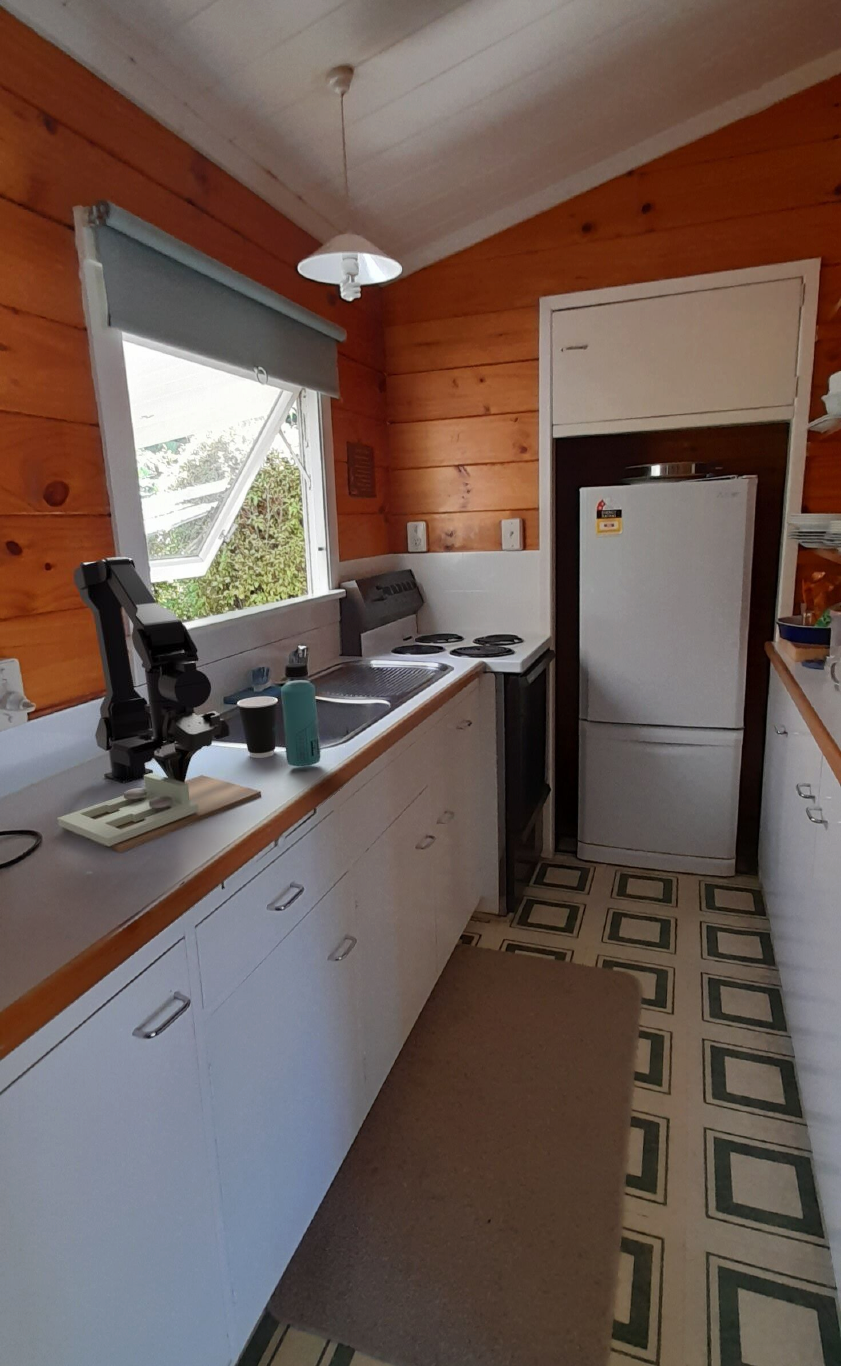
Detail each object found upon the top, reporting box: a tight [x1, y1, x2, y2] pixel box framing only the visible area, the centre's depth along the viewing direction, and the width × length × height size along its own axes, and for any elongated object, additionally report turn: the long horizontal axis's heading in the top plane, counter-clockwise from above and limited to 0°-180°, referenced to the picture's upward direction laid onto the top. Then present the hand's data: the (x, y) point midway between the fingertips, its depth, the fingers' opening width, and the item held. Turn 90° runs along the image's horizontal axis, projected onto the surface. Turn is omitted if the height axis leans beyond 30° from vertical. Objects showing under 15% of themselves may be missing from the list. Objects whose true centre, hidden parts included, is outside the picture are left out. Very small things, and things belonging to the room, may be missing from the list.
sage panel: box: [57, 772, 198, 846], centre depth 114 cm, size 14×15×4 cm
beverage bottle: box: [280, 662, 322, 767], centre depth 136 cm, size 6×7×20 cm
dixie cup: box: [236, 696, 278, 759], centre depth 147 cm, size 8×8×11 cm
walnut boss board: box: [62, 774, 262, 853], centre depth 119 cm, size 16×26×4 cm, turn 143°
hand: (179, 789), depth 121 cm, fingers closed
